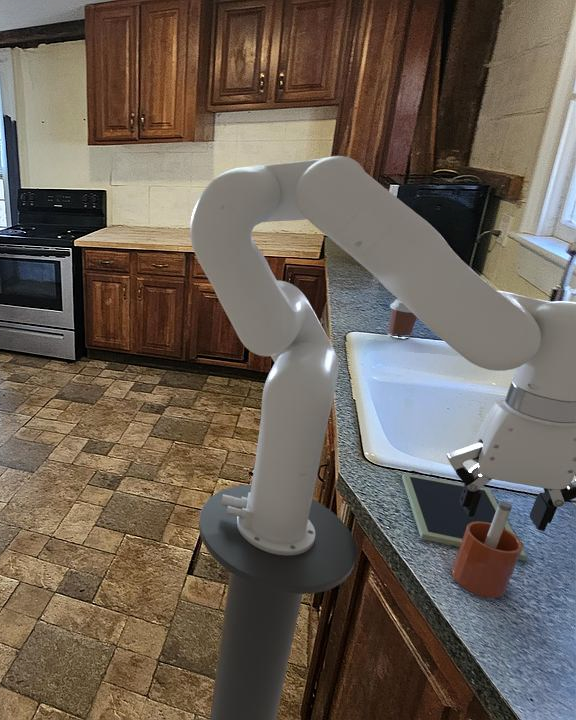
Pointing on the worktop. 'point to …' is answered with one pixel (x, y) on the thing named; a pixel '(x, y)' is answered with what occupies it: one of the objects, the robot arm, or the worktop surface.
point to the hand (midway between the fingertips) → (501, 516)
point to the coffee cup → (401, 319)
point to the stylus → (498, 524)
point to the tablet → (446, 509)
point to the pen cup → (486, 561)
